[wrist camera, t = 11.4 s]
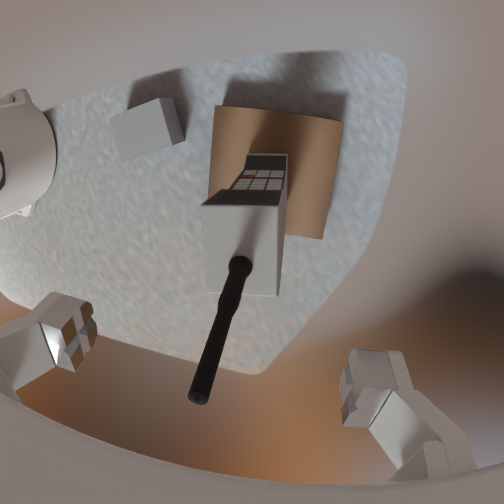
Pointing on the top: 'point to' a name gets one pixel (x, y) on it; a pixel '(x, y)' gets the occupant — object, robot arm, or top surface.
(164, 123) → the grey plastic box
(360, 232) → the top surface
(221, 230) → the vintage mobile phone
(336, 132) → the walnut stand
